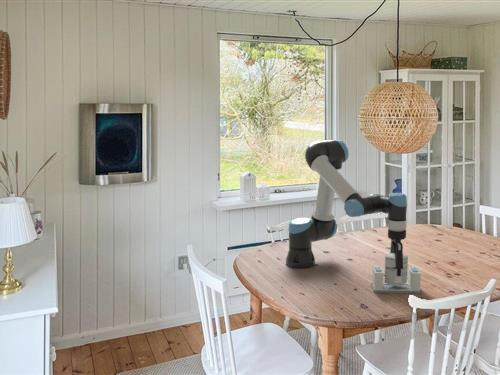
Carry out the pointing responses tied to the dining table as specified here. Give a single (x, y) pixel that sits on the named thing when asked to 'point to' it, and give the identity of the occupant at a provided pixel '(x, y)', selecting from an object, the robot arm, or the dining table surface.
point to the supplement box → (391, 271)
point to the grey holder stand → (409, 287)
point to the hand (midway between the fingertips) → (395, 278)
